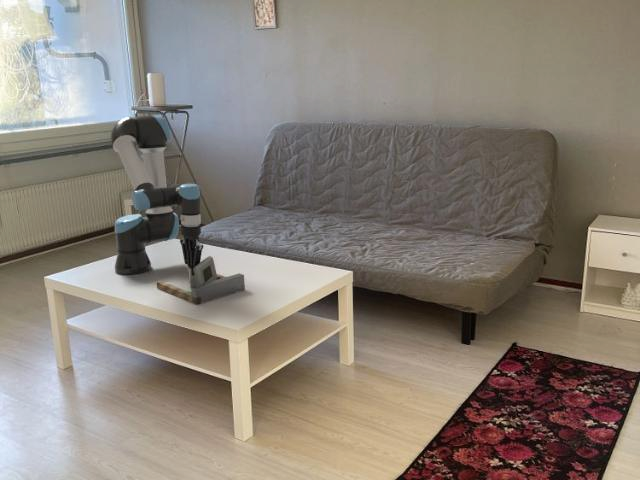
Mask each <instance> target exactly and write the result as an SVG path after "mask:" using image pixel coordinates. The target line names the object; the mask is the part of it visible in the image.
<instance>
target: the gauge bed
mask: <svg viewBox="0 0 640 480" xmlns="http://www.w3.org/2000/svg"><path fill="white" fill-rule="evenodd" d="M225 277H226V276H224V275H221V274H218V273H217V278H218V279H221V278H225ZM242 286H243V285H242ZM156 288H157V289H158V290H161V291H163V292H166V293H168V294H169V295H170V294H171V295H174V296H175V297H178V298H179V299H183V300H185V301H187V302H189V303H192V304H195V305H196V304H197V305H200V304H201V303H200V302H201V298H200V297H198V298H195V297H193V298H192V295H191V291H189V290H185V289H184V288H180V287H178V286H175V285H173V284H170V283H168V282H166V281H163V280H158V281H156ZM243 289H244V288H242V291H245V290H246V288H245V289H244V290H243ZM192 299H193V300H194V299H195V300H196V301H195V300H194V301H193V300H192ZM198 299H199V300H198ZM199 301H200V302H199Z"/></svg>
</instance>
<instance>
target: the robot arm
mask: <svg viewBox="0 0 640 480" xmlns="http://www.w3.org/2000/svg"><path fill="white" fill-rule="evenodd" d="M170 141H171V131H170V127H169V124H168V123H167V120H166V119H165V117H163V116H161V115H144V116H143V115H141V116H126V117H123V118H121V119H120V120H118V121H117V122H116V123H115V124H114V126H113V128H112V130H111V133H110V143H111V146H112V148H113V149H112V150H114V152H115V153H118V156H119V158H120V160H121V163H122V166H123V167H124V170H125V173H126V174H127V177H128V178H129V181H130V184H131V185H132V189H133V191H132V192H131V202H132V206H133V208H134V210H136V211H144V210H146V211H145V216H143V215H142V214H140V213H136V214H134V213H133V214H128V215H124V216H121V217H119V218H117V219H116V221H115V222H114V234H115V242H116V250H117V255H116V258H115V259H116V260H115V264H114V271H115V273H116V274H119V275H136V274H142V273H145V272H147V271H150V270H151V269H152V262H151V260H150V258H149V255H148V252H147V251H146V244H155V243H158V242H168V241H171V240H174V239H175V238H177V237H178V234H179V231H180V235H182V239H179V243H180V245H181V249H182V257H183V261H184V264H185V265H187V269H188V281H189V283H188V284H190V285H191V279H192V277H194V276H195V275H194V271H193V269H194V267H195V266H197V265H198V264H199V263H200V262H201V261H202V251H203V248H204V244H201V243H200V238H199V236H200V235H201V234H202V231H201V230H202V226H201V223H202V220H201V219H202V217H201V192H200V186H199V185H198V184H196V183H184V184H178V183H175V184H172V185H170V186H168V185H167V178H166V175H167V174H166V166H165V165H166V164H165V156H164V155H165V154H164V150H166V148H167V144H168V143H169V142H170ZM139 151H140V152H141V153H142V157H141V155H140V152H139ZM174 206H179V208H180V209H179V210H180V213H179V214H180V220H179V216H178V214H177V213H176V212H174V210H173V209H172V207H174ZM179 221H180V222H179ZM180 224H181V226H180ZM179 229H180V230H179Z"/></svg>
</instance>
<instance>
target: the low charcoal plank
mask: <svg viewBox="0 0 640 480" xmlns="http://www.w3.org/2000/svg"><path fill="white" fill-rule="evenodd" d="M224 277H225V278H221V279H218V280H214V281H211V282H207V283H204V284H200V285H197V286H193V287H191V288H190V292H191V295H192V298H193V297H195V298H198V297H200V298H201V302H200V301H199V302H200V304H205V303H206V302H210V301H213V300H217V299H219V298H223V297H226V296H229V295H231V294H235V293H239V292H242V291H245V290H246V285H245V274H243V273H239V272H238V273H236V274H233V275H228V276H224ZM242 285H243V286H242ZM242 288H244V289H245V290H244V289H243V290H242ZM192 300H193V299H192ZM194 300H195V299H194ZM194 300H193V301H194ZM198 300H199V299H198ZM195 301H196V300H195ZM195 305H198V304H195Z"/></svg>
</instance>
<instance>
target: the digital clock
mask: <svg viewBox="0 0 640 480" xmlns="http://www.w3.org/2000/svg"><path fill="white" fill-rule="evenodd" d="M214 261H215V260H214V257H212V256H211V255H209V256H207V257H205V258H203V259H202V260H200V263H199V264H198V265H197V266H195V267H194V269H193V271H194V275H195V276H194V277H192V279H191V284H190V287H189V288H190V289H191V287H193V286H197V285H200V284H204V283H207V282H211V281H214V280H218V278H217V274H218V273H217V270H216V269H217V268H216V265H215V262H214Z"/></svg>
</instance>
